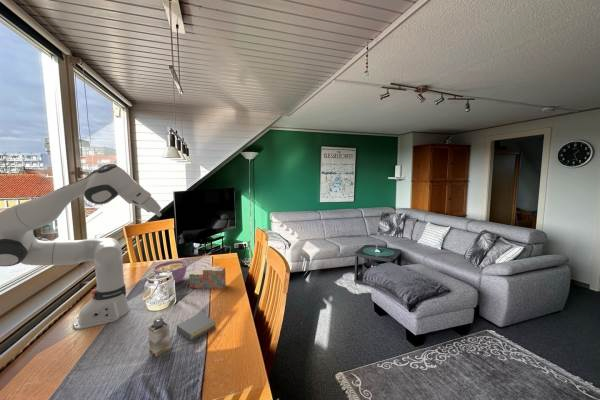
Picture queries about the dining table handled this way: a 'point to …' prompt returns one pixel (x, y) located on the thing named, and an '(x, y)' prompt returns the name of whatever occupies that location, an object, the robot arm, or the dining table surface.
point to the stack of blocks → (208, 278)
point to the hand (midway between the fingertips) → (154, 213)
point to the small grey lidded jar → (159, 339)
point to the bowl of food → (172, 269)
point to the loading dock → (195, 326)
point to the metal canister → (158, 323)
